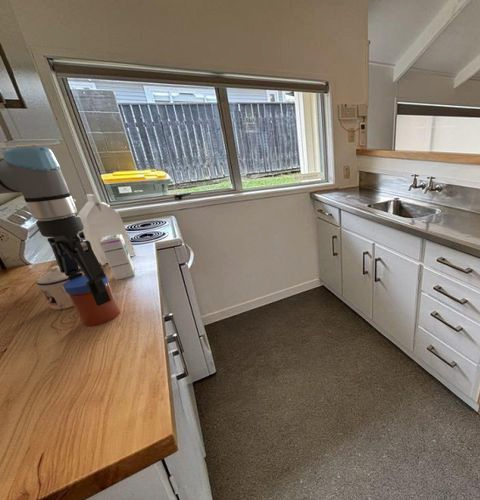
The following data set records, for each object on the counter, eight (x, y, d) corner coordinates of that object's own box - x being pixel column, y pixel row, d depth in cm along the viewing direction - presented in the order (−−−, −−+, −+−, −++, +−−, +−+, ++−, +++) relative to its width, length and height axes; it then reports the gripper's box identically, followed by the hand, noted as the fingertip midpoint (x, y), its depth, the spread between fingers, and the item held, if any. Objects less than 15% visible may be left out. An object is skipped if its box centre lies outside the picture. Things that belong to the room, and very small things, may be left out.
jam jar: (81, 330, 72) (64, 294, 68) (83, 316, 78) (67, 282, 74) (120, 317, 76) (106, 283, 72) (119, 305, 82) (106, 273, 78)
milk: (92, 259, 116) (66, 196, 107) (125, 249, 125) (103, 191, 115) (102, 265, 110) (75, 199, 100) (136, 255, 119) (114, 193, 109)
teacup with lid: (47, 304, 84) (29, 269, 80) (86, 291, 91) (71, 258, 86) (55, 317, 77) (35, 280, 73) (96, 302, 84) (81, 267, 80)
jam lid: (102, 275, 79) (99, 269, 78) (114, 282, 74) (111, 276, 74) (61, 288, 72) (58, 282, 72) (72, 297, 68) (69, 291, 67)
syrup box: (135, 275, 100) (121, 237, 95) (114, 280, 97) (98, 241, 92) (135, 270, 105) (122, 233, 99) (115, 274, 101) (100, 236, 96)
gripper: (101, 215, 65) (133, 299, 74) (54, 210, 73) (88, 286, 82) (60, 225, 59) (101, 315, 68) (14, 217, 67) (55, 299, 76)
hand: (94, 299), depth 75 cm, fingers closed on jam lid, 8 cm apart
